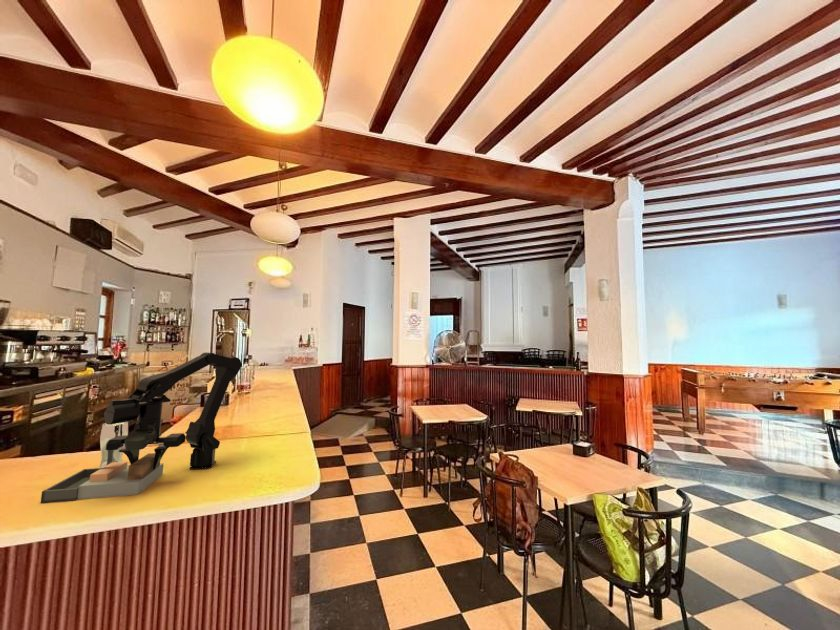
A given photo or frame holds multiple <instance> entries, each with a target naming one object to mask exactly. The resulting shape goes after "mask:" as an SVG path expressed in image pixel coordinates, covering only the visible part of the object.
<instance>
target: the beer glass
mask: <svg viewBox="0 0 840 630" xmlns="http://www.w3.org/2000/svg"><path fill="white" fill-rule="evenodd" d="M101 426H102V427H101V431H100V436H99V438H100V440H99V445H100V446H99V447H100V453H101V460H100V463H99V467H98V468H104V467H105V466H107V465H108V464H110V463H112V462H123V454H124V453H123V452H119V450H120V449H121V447H120V448H119V449H117V450H105V448H106V443H107V442H108V441H109V440H110V439H112V438H115V437H117V436H126V435H129V422H123V423H117V424H111V425H107V424H106V422H104V423H102V425H101Z"/></svg>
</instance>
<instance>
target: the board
mask: <svg viewBox="0 0 840 630" xmlns="http://www.w3.org/2000/svg"><path fill="white" fill-rule="evenodd" d="M128 469H129V465H128V464H127V468H126V469H124V470H123V471H121V472H120V473H115V476H114V477H112V478H110V479H109V480H107V481H98V482H90V480H88V481H87V482H85V483H83V484H82V485H80V486H79V489H78V498H77V500H85V499H88V500H89V499H97V498H109V497H111V498H114V497H124V496H126V497H127V496H134V495H136V496H137V495H140V493H142V492H143V491H144V490H145V489H147V488H148V487H149V486H150V485H151V484H152V483H153V484H154V482H155V481H156V480H158V479H159V478H160V477H161V476H163V473H164V472H163V471H164V463H163V462H162V463H161V462H160V466H159V467H157V468H156V469H155V470H153V471H152V472H151V473H149V474H148V475H147V476H145V477H144V478H143V479H136V480H127V479H128Z"/></svg>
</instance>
